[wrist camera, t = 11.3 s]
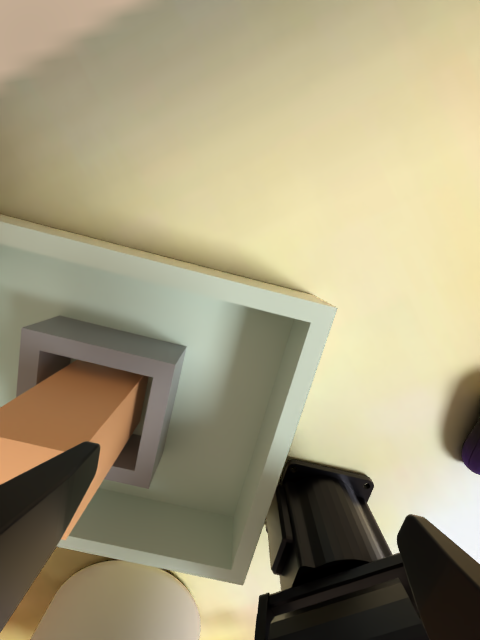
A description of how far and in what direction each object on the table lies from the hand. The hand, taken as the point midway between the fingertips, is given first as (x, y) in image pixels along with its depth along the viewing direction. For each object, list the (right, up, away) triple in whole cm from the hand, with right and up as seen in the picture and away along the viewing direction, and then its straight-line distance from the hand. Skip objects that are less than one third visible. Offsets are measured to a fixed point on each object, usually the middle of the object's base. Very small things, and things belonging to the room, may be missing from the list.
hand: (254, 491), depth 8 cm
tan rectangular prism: (-9, 0, +10) cm, 13 cm away
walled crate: (-9, +1, +11) cm, 14 cm away
